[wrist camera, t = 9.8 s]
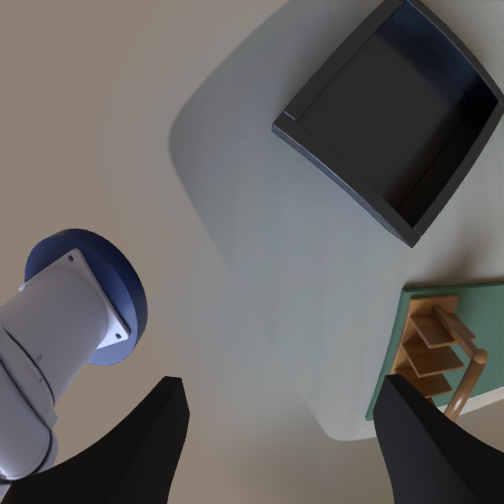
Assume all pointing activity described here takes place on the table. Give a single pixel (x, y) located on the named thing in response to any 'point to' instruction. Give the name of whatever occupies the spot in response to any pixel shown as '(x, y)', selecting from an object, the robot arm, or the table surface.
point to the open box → (396, 116)
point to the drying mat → (478, 322)
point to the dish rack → (437, 351)
